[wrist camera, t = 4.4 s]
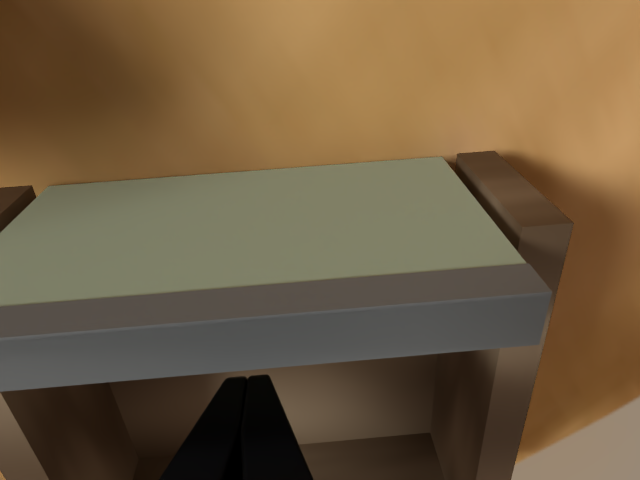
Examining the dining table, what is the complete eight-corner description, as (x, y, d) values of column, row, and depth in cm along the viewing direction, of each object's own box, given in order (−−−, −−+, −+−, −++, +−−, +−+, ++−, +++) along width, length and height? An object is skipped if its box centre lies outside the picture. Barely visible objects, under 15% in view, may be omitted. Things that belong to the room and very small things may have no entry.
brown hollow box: (446, 425, 20) (492, 556, 15) (126, 454, 19) (81, 597, 15) (480, 138, 14) (573, 222, 9) (10, 173, 13) (-122, 278, 9)
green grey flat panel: (438, 192, 13) (539, 345, 8) (61, 222, 13) (-88, 399, 8) (442, 154, 13) (552, 291, 7) (47, 184, 12) (-124, 347, 7)
